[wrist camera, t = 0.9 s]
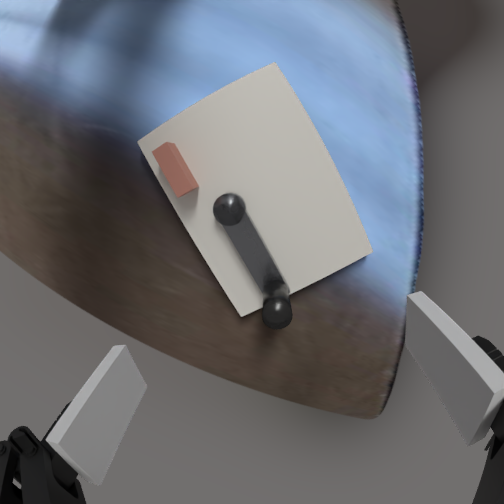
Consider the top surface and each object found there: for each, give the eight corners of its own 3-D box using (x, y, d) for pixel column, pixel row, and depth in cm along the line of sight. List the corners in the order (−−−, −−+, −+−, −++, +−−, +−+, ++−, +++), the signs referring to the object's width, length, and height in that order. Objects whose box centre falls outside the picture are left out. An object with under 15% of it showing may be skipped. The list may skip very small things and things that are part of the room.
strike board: (143, 142, 33) (126, 140, 28) (274, 67, 29) (276, 52, 25) (242, 309, 39) (239, 329, 34) (368, 247, 36) (381, 259, 31)
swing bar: (209, 202, 32) (194, 212, 25) (236, 186, 32) (228, 192, 25) (267, 301, 36) (268, 334, 29) (293, 289, 35) (300, 320, 28)
